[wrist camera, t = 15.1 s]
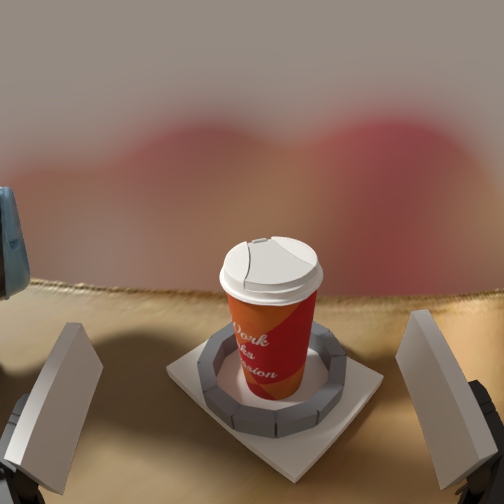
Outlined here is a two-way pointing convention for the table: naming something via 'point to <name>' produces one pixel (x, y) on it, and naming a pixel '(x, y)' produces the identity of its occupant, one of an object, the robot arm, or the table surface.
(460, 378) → the robot arm
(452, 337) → the table surface
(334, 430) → the ring board
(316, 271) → the paper cup
